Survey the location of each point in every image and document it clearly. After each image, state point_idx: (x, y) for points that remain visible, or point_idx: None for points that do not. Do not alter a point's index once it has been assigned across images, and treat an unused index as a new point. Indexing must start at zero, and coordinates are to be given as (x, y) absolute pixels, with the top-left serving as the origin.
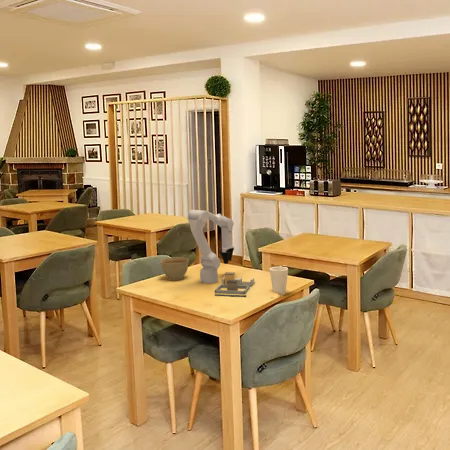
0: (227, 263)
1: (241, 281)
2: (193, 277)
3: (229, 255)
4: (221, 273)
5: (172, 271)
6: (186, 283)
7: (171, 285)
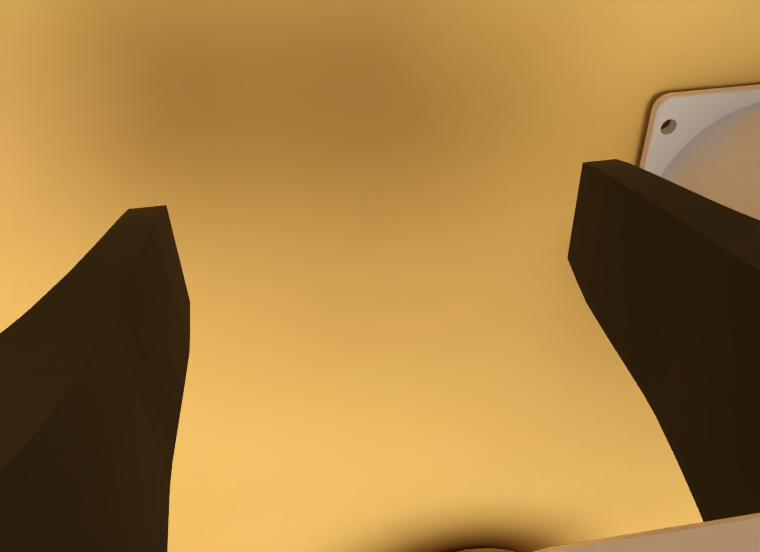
0: (624, 163)
1: None
2: (391, 494)
3: (144, 370)
4: (49, 279)
5: None
6: (658, 452)
7: None
